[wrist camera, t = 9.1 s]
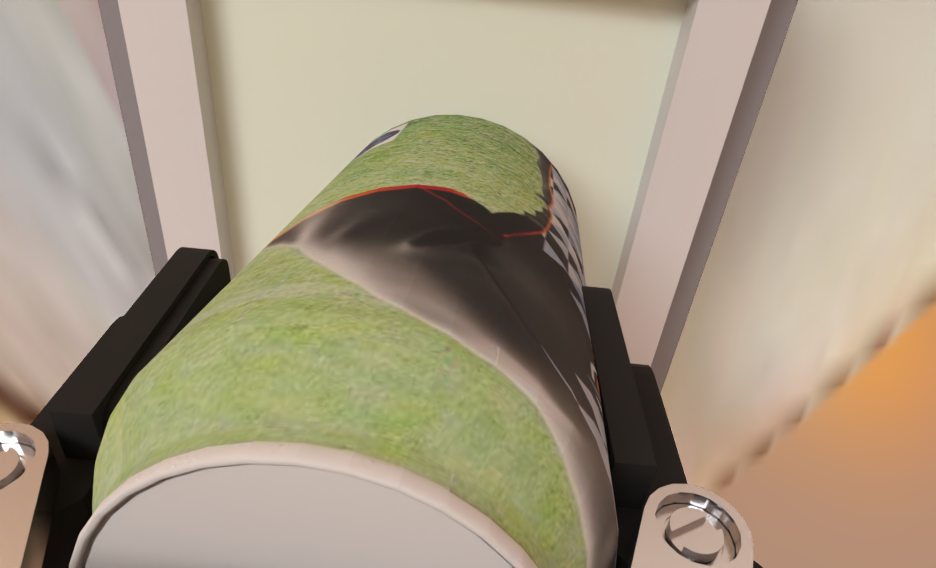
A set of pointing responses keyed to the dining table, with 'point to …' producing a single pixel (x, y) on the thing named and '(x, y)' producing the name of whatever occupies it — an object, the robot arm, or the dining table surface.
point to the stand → (452, 93)
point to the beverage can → (378, 383)
